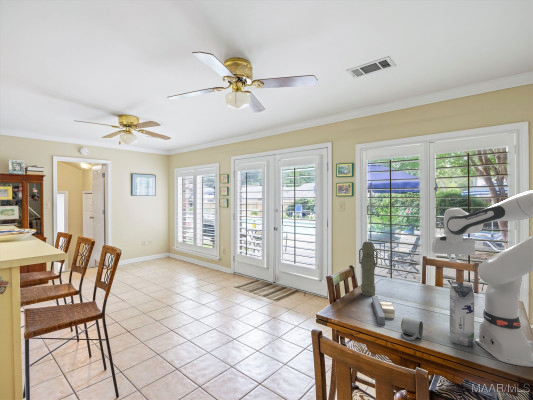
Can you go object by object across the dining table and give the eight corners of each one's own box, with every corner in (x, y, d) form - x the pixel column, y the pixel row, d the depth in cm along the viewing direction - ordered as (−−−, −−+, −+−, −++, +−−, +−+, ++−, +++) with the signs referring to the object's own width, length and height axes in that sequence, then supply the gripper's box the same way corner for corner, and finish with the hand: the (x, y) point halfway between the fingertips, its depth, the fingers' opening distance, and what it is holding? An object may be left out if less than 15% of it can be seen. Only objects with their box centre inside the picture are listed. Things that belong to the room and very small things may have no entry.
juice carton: (449, 343, 123) (449, 283, 122) (449, 333, 132) (449, 277, 131) (474, 349, 118) (474, 286, 117) (472, 338, 127) (473, 280, 126)
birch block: (394, 318, 148) (394, 309, 148) (382, 317, 149) (382, 308, 149) (391, 311, 157) (391, 302, 157) (379, 310, 159) (379, 301, 159)
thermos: (377, 297, 177) (377, 243, 177) (358, 294, 183) (358, 242, 182) (378, 293, 185) (378, 241, 185) (359, 290, 191) (359, 240, 190)
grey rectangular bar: (385, 324, 140) (385, 317, 140) (378, 324, 141) (378, 316, 141) (377, 302, 169) (377, 296, 169) (372, 302, 170) (372, 295, 170)
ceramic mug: (405, 328, 136) (405, 313, 136) (423, 334, 130) (423, 318, 130) (398, 337, 128) (397, 321, 128) (417, 343, 123) (417, 326, 123)
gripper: (472, 237, 151) (472, 262, 152) (430, 235, 157) (430, 259, 157) (477, 238, 145) (477, 264, 146) (434, 237, 151) (434, 262, 151)
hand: (452, 262), depth 151 cm, fingers closed
